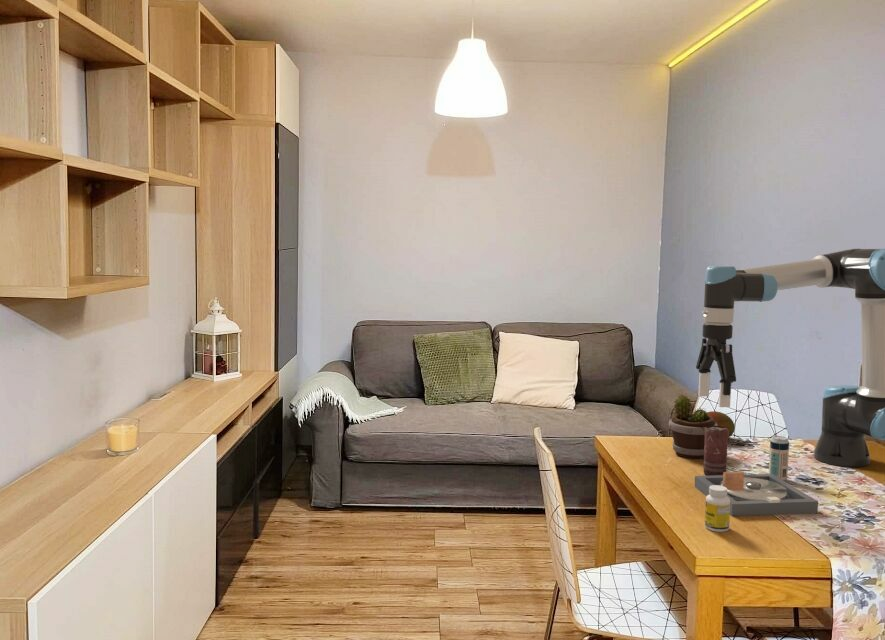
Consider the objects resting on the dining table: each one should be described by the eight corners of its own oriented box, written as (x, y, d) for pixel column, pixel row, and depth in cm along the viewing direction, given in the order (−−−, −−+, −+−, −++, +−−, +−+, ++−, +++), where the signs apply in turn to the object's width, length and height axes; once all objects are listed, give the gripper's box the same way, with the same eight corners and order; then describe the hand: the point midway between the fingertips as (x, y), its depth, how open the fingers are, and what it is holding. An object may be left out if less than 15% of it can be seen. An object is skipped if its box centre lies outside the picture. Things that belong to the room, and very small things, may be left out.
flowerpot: (721, 451, 238) (723, 390, 236) (710, 464, 225) (712, 399, 223) (675, 445, 246) (677, 385, 243) (661, 456, 233) (663, 393, 231)
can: (728, 479, 211) (730, 430, 209) (705, 477, 212) (706, 429, 210) (725, 472, 217) (726, 425, 215) (702, 471, 218) (703, 424, 216)
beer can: (787, 477, 212) (789, 436, 210) (787, 482, 207) (789, 440, 206) (768, 475, 214) (770, 434, 212) (768, 480, 209) (770, 438, 208)
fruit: (691, 440, 251) (692, 411, 250) (705, 433, 261) (706, 405, 260) (726, 446, 244) (727, 416, 243) (739, 438, 253) (740, 410, 252)
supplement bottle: (700, 524, 178) (702, 484, 177) (722, 523, 178) (724, 483, 177) (710, 533, 172) (712, 491, 171) (733, 532, 173) (735, 491, 172)
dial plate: (771, 484, 206) (772, 470, 206) (817, 513, 184) (818, 498, 184) (694, 486, 205) (694, 473, 204) (731, 516, 183) (732, 501, 182)
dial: (766, 483, 203) (767, 462, 202) (799, 504, 187) (800, 481, 186) (710, 485, 202) (710, 463, 201) (738, 506, 186) (738, 482, 185)
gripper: (686, 318, 212) (682, 392, 214) (723, 328, 187) (719, 411, 189) (712, 318, 212) (708, 392, 215) (753, 329, 188) (748, 411, 190)
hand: (713, 401), depth 202 cm, fingers open, 13 cm apart
